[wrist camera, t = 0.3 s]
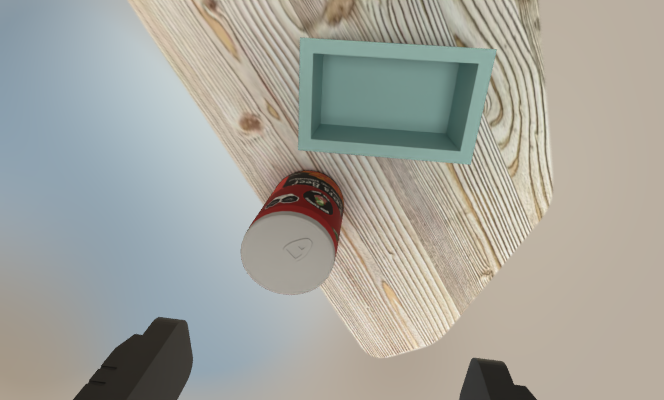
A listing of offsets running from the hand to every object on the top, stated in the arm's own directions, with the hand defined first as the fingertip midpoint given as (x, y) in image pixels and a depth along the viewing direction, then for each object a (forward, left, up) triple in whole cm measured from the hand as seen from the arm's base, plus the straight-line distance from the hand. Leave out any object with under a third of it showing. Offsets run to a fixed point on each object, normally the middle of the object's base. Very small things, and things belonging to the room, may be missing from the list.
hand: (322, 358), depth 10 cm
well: (-4, +2, -27) cm, 28 cm away
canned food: (+8, -5, -28) cm, 29 cm away
